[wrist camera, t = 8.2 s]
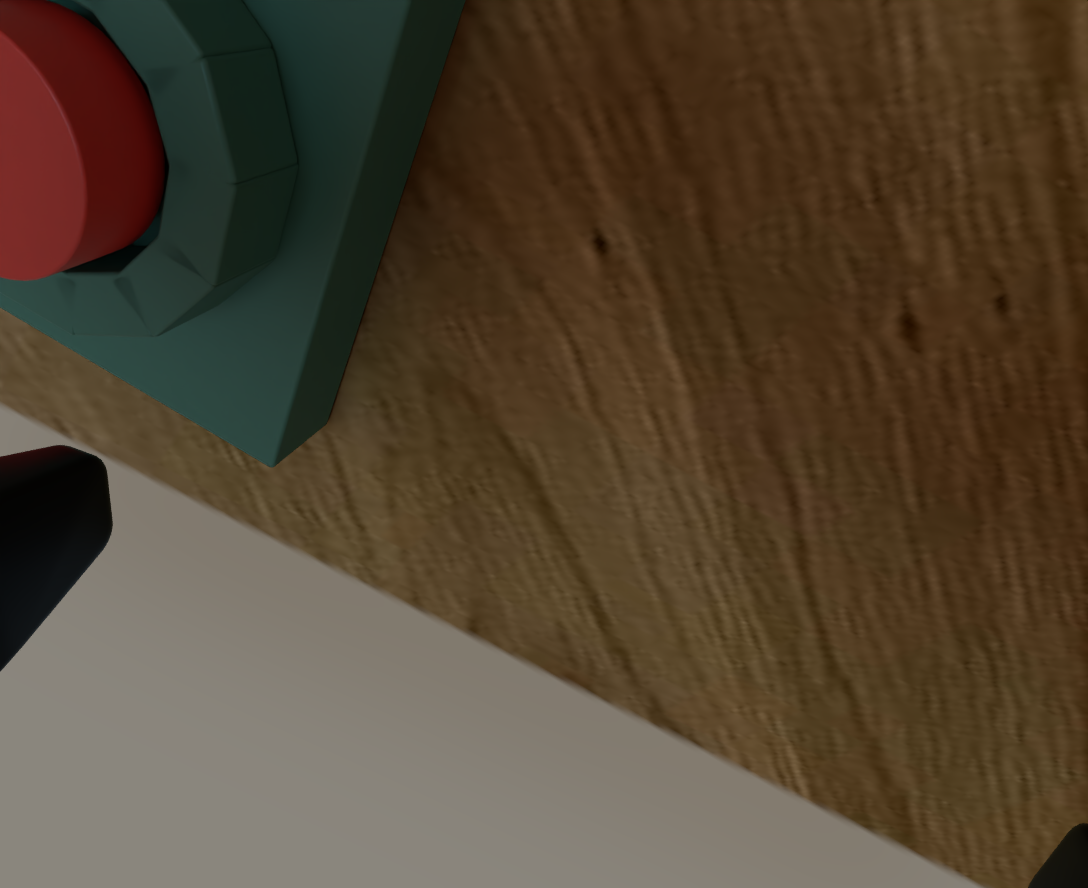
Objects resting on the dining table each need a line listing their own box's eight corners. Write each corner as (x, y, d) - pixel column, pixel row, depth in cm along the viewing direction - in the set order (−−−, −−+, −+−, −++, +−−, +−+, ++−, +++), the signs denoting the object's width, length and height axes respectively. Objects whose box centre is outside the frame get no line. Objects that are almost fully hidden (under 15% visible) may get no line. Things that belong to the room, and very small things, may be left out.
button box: (328, 425, 21) (217, 515, 17) (4, 235, 21) (-163, 287, 18) (497, -91, 14) (377, -106, 11) (37, -334, 15) (-205, -416, 12)
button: (148, 292, 16) (72, 326, 14) (-38, 184, 16) (-131, 206, 15) (184, 71, 14) (100, 84, 12) (-32, -50, 14) (-140, -51, 12)
